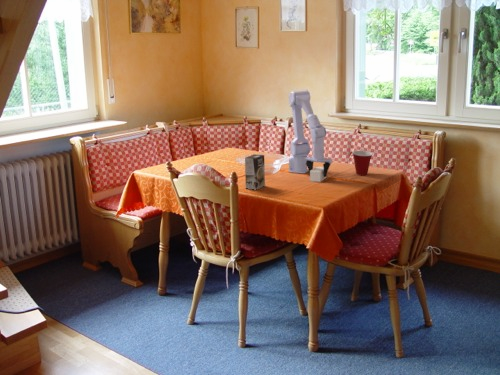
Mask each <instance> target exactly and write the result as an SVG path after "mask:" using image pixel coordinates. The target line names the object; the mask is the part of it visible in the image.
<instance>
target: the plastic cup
mask: <svg viewBox="0 0 500 375" xmlns="http://www.w3.org/2000/svg"><path fill="white" fill-rule="evenodd" d="M351 152H352V155H353V161H354V162H353V163H354V169H355V175H357V176H367V175H368V174H369V173H368V172H369V168H370V165H371V159H372V156H373V154H374V153H373V152H371V151H368V150H353V151H351Z"/></svg>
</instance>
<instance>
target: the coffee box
mask: <svg viewBox="0 0 500 375" xmlns="http://www.w3.org/2000/svg"><path fill="white" fill-rule="evenodd" d="M244 168H245V169H244V171H245V172H244V173H245V174H244V176H245V189H246V188H248V189H247V190H252V189H254V190H253V191H257V190H259V189H261V188H264V187H265V186H266V171H265V169H266V168H265V154H255V153H253V154H251V155H249V156H246V157H244ZM263 186H264V187H263ZM256 189H257V190H256Z"/></svg>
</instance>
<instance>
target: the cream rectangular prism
mask: <svg viewBox="0 0 500 375" xmlns="http://www.w3.org/2000/svg"><path fill="white" fill-rule="evenodd" d="M327 177H328V175H327V176H326V177H324V167H323V166H315V167H313V169H312V170H311V171H310V172H309V181H310V182H317V183H321V182H322V181H324V180H325V179H326V178H327Z"/></svg>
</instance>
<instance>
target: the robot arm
mask: <svg viewBox="0 0 500 375" xmlns="http://www.w3.org/2000/svg"><path fill="white" fill-rule="evenodd" d="M288 101H289V102H288V104H289V107H290V108H291V114H292V122H293V124H292V126H293V133H294V138H293V139H292V140H291V141H290V147H289V150H290V154H291V155H290V156H289V159H288V173H295V174H306V173H310V171H311V170H312V169H314V163H322V165H323V166H322V167H324V177H326V176H327V177H328V171H329V169H330V166H331V164H333V159H332V158H327V157H325V138H326V135H327V130H326V127H325V126H323V124H321V121H320V120H319V117H318V115H317V114H314V111H313V108H312V104H311V93H310V92H309V90H308V89H305V90H295V91H294V90H292V91H290V93H289V95H288ZM302 110H303V111H304V113H305V115H306V117H307V118H306V122H307V124H308V126H309V129H310V132H309V133H310V134H309V135H310V137H311V143H312V156H310V157H309V154H310V153H311V146H310V143H309V142H310V141H309V140H308V139H307V138H306V137H305V130H304V120H303V113H302V112H303V111H302Z"/></svg>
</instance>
